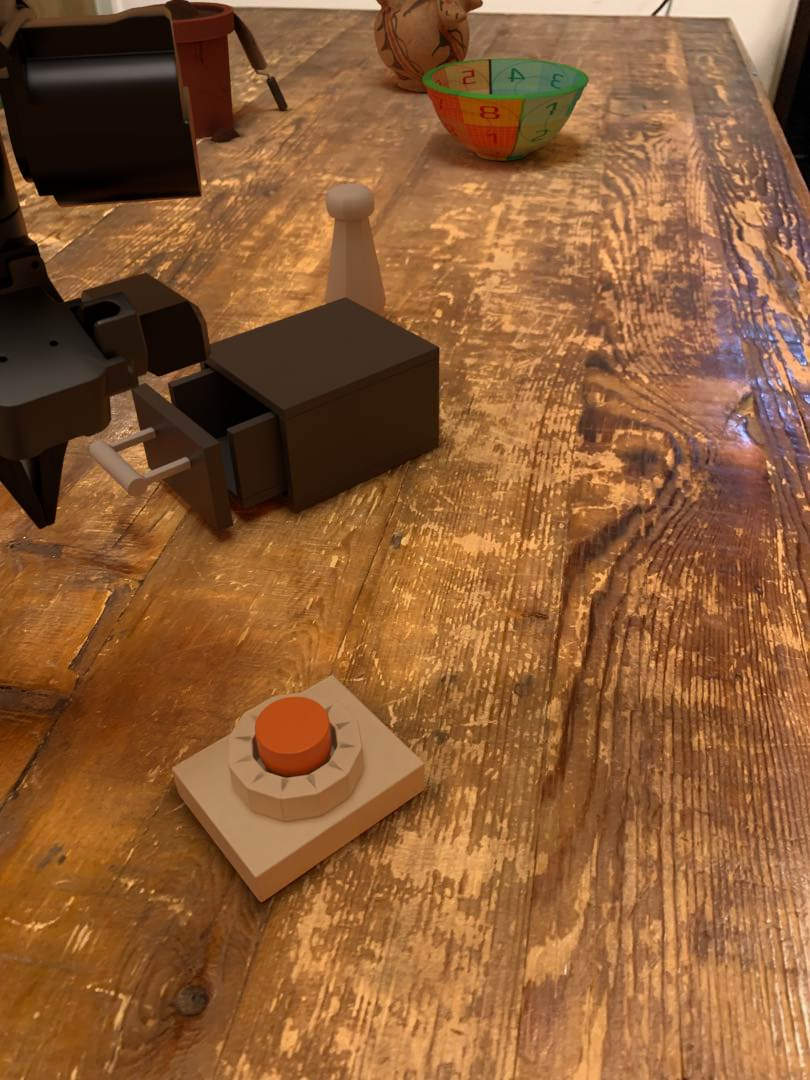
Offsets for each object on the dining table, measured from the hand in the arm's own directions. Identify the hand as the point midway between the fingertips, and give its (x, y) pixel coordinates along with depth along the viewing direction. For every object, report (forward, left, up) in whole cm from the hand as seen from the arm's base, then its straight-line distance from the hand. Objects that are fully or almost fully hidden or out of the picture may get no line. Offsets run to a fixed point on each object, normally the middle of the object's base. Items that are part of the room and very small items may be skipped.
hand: (43, 523), depth 48 cm
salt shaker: (+40, +28, -12) cm, 50 cm away
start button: (+5, -14, -8) cm, 17 cm away
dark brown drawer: (+16, +12, -11) cm, 23 cm away
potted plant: (+65, +98, -12) cm, 118 cm away
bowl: (+88, +58, -12) cm, 106 cm away
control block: (+5, -14, -12) cm, 19 cm away
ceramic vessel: (+105, +94, -12) cm, 142 cm away
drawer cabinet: (+25, +12, -12) cm, 30 cm away
